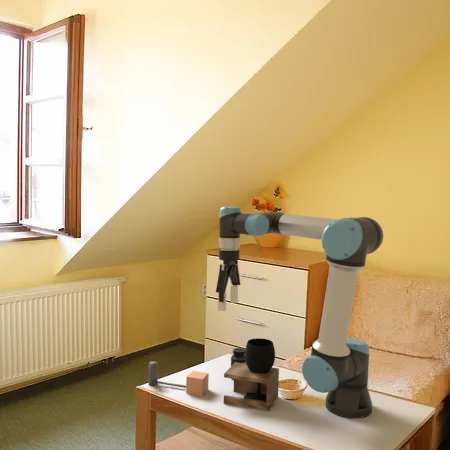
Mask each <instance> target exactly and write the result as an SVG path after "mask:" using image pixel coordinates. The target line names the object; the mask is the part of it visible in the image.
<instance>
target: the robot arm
mask: <svg viewBox="0 0 450 450" xmlns="http://www.w3.org/2000/svg"><path fill="white" fill-rule="evenodd" d="M218 220H219V226H218V227H219V229H218V230H219V238H218V240H217V242H219V245H218V247H219V250H218V259H219V261H223V263H222V264H219V271H218V276H217V283H216V288H215V293H218V296H217V297H218V298H217V299H218V300H217V303H218V304H217V311H218V312H219V311H221V312H226V311H227V290H226V289H227V287H228V282H229V280H230V283H231V284H230V297H229V298H230V301H229V302H230V303H233V304H234V303H236V304H238V300H239V299H238V298H239V295H238V294H239V286H241V278H240V272H239V260H240V255H241V253H240V252H241V251H240V250H239V249H240V247H241V245H240V244H241V235H244V236H245V235H246V236H252V237H262V236H264V235H267V234H276V235H277V234H278V235H284V236H285V235H286V236H292V237H297V238H298V237H299V238H305V239H314V240H320V241H321V247H322V248H323V249H324V253H325V261H326V262H327V264H328V265H329V269H328V275H327V276H328V277H327V281H326V289H325V294H324V301H323V306H322V307H323V308H322V314H321V321H320V327H319V331H318V332H319V333H318V338H317V339H316V340H315V341H313V342H312V345H311V350H310V355H308V356H307V357H306V358H304V361H303V362H302V365H301V371H302V372H301V373H302V377H303V379H304V380H305V381H306V383H307V385H308V386H309V387H310V388H311V389H312V390H314V391H315V392H318V393H322V394H325V393H327V394H326V397H325V408H326V409H327V410H328V411H329V412H330V413H332V414H335V415H337V416H341V417H345V418H351V419H352V418H354V419H355V418H365V417H367V416H369V415H371V414H372V412H373V402H372V398H371V395H370V391H369V387H368V384H369V383H368V382H369V366H370V365H369V364H370V363H369V362H370V345H368V343H367V342H365V341H362V340H359V339H356V338H351V337H348V336H349V330H350V325H351V318H352V312H353V305H354V300H355V295H356V294H355V293H356V290H357V289H356V288H357V283H358V276H359V273H360V270H362V269H363V268H365V266H366V261H367V255H369V254H372V253H374V252H375V253H376V251H377V250H378V249H379V248H380V247H381V246H382V243H383V240H384V231H383V228H382V226H381V224H380V223H379V222H378V221H376V220H375V219H374V218H371V217H367V216H362V217H343V218H339V219H338V218H330V217H329V218H327V217H321V216H320V217H319V216H308V215H299V214H290V213H284V212H279V211H275V212H259V213H257V212H256V213H245V212H241V208H240V207H239V206H222V207H221V208H220V209H219V217H218Z"/></svg>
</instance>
